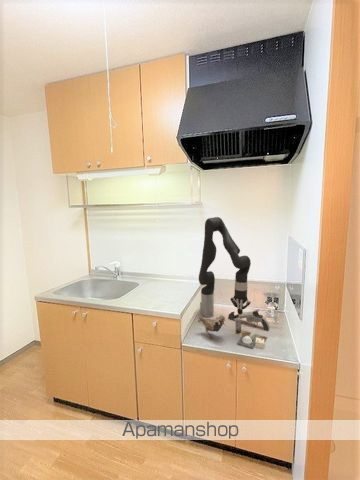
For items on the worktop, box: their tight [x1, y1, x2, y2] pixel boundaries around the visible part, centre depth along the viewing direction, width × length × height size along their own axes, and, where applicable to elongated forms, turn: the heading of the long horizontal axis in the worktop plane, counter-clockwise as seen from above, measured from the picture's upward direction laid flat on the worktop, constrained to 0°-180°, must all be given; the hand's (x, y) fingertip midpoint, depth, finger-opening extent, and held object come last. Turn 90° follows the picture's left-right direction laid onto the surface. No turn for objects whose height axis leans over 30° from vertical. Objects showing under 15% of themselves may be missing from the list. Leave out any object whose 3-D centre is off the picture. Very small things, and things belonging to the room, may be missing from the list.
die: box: [254, 338, 265, 350], centre depth 140 cm, size 4×4×5 cm
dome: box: [242, 336, 252, 345], centre depth 143 cm, size 5×5×5 cm
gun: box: [227, 308, 270, 332], centre depth 165 cm, size 5×27×15 cm, turn 52°
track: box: [232, 329, 269, 343], centre depth 151 cm, size 20×6×1 cm, turn 57°
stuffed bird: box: [197, 314, 226, 340], centre depth 149 cm, size 10×20×17 cm, turn 65°
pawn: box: [234, 318, 242, 333], centre depth 154 cm, size 4×4×9 cm
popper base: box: [236, 335, 256, 350], centre depth 143 cm, size 9×9×2 cm
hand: (239, 313), depth 150 cm, fingers closed
